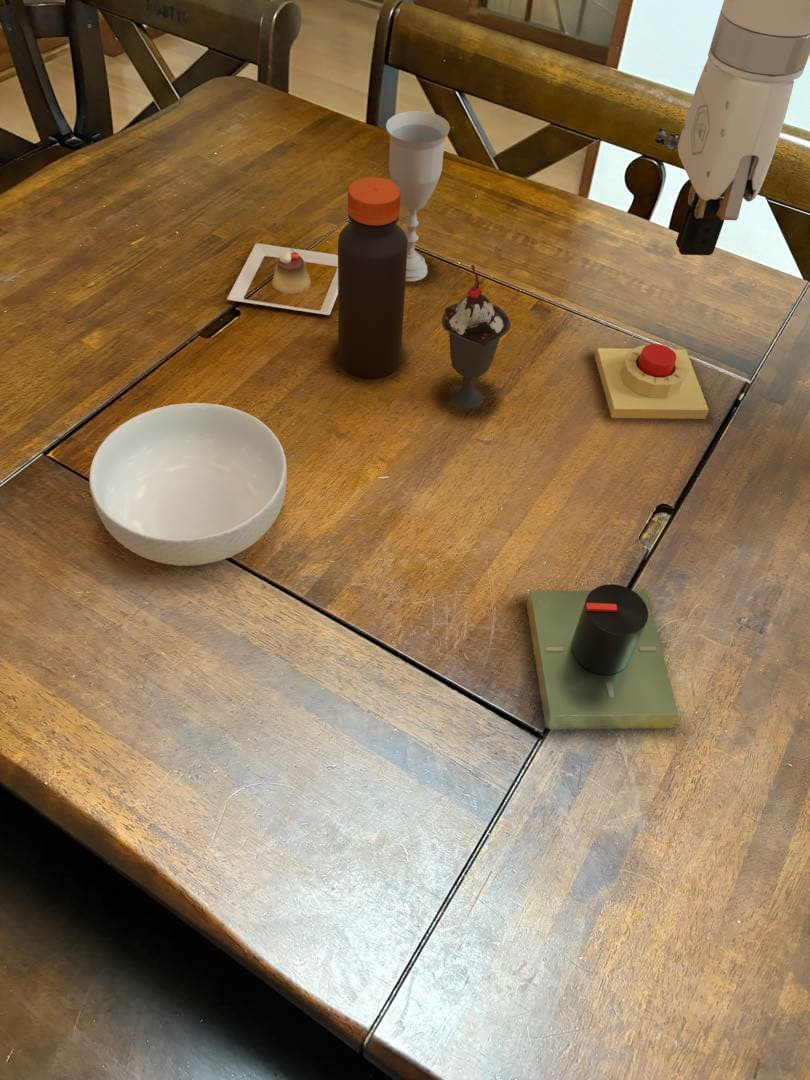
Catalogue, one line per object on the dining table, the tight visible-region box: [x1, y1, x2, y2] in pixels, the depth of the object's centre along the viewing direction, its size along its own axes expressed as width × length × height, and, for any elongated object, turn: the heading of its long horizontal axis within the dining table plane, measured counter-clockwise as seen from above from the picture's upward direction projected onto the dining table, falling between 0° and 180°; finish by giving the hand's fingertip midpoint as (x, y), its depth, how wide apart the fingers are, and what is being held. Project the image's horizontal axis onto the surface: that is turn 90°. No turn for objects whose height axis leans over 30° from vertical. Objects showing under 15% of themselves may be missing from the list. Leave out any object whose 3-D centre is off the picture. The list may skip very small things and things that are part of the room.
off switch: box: [594, 344, 710, 420], centre depth 98 cm, size 10×10×4 cm
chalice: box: [385, 110, 451, 282], centre depth 104 cm, size 7×7×18 cm
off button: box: [638, 343, 676, 378], centre depth 96 cm, size 4×4×2 cm
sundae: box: [441, 264, 512, 409], centre depth 91 cm, size 7×7×15 cm
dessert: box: [226, 242, 338, 316], centre depth 106 cm, size 12×12×5 cm
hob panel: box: [526, 589, 679, 730], centre depth 74 cm, size 10×12×3 cm
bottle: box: [337, 176, 408, 380], centre depth 92 cm, size 7×7×20 cm
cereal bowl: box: [88, 402, 288, 567], centre depth 81 cm, size 17×17×7 cm
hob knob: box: [572, 583, 648, 675], centre depth 71 cm, size 5×5×6 cm
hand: (693, 249), depth 86 cm, fingers closed
